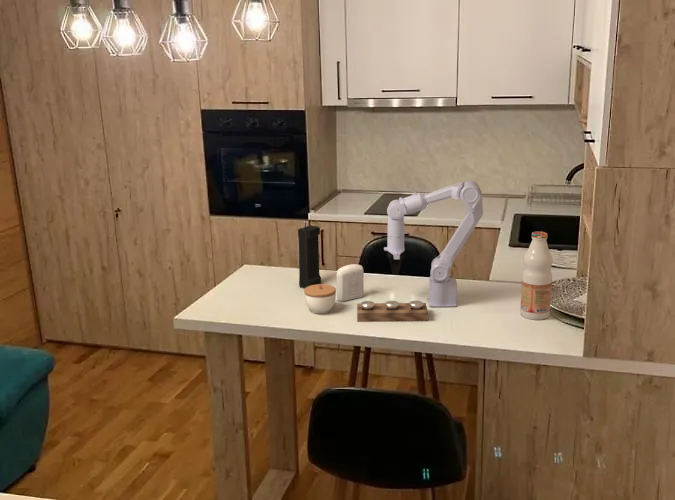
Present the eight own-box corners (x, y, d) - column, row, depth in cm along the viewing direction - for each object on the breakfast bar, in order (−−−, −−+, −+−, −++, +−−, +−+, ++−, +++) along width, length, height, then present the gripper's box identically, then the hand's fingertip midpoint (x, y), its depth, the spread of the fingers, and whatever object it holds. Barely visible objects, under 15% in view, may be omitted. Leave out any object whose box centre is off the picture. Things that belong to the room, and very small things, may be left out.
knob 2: (422, 312, 242) (422, 300, 241) (423, 317, 238) (423, 305, 237) (409, 313, 242) (409, 300, 241) (409, 317, 238) (410, 305, 237)
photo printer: (358, 293, 263) (358, 261, 259) (365, 296, 259) (365, 263, 256) (334, 299, 257) (334, 266, 254) (341, 302, 254) (341, 269, 250)
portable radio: (310, 281, 277) (308, 217, 270) (323, 284, 273) (321, 219, 266) (297, 287, 271) (295, 222, 264) (310, 290, 267) (308, 224, 260)
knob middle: (398, 313, 242) (398, 300, 241) (398, 317, 238) (399, 305, 237) (385, 313, 242) (385, 300, 241) (385, 318, 238) (385, 305, 237)
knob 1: (374, 313, 243) (374, 300, 241) (374, 318, 238) (374, 305, 237) (361, 313, 243) (361, 301, 241) (361, 318, 238) (361, 305, 237)
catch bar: (425, 311, 244) (425, 302, 243) (427, 321, 236) (428, 312, 235) (357, 311, 245) (357, 303, 244) (357, 321, 236) (357, 313, 236)
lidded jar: (337, 305, 252) (336, 279, 249) (335, 316, 241) (334, 289, 239) (306, 305, 252) (305, 279, 250) (303, 316, 242) (302, 289, 239)
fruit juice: (515, 316, 238) (519, 234, 230) (526, 308, 245) (531, 228, 237) (543, 322, 233) (548, 238, 225) (553, 313, 240) (559, 231, 232)
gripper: (383, 230, 254) (383, 267, 258) (384, 241, 240) (384, 280, 244) (403, 230, 254) (403, 266, 258) (406, 241, 240) (405, 280, 244)
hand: (395, 273), depth 251 cm, fingers closed
